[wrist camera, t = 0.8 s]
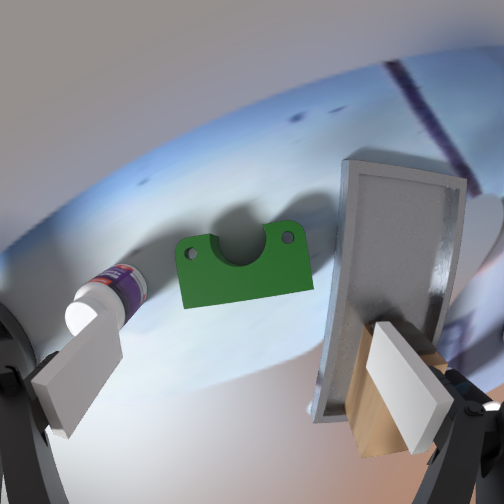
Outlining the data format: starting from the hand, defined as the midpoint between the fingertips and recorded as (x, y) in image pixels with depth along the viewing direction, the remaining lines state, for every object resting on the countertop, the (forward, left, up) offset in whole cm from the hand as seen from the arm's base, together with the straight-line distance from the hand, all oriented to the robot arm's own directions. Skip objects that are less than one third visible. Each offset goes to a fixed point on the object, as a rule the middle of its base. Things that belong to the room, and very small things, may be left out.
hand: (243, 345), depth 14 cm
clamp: (0, 0, -17) cm, 17 cm away
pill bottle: (-13, -4, -17) cm, 22 cm away
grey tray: (+16, -5, -17) cm, 23 cm away
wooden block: (+16, -12, -16) cm, 25 cm away
